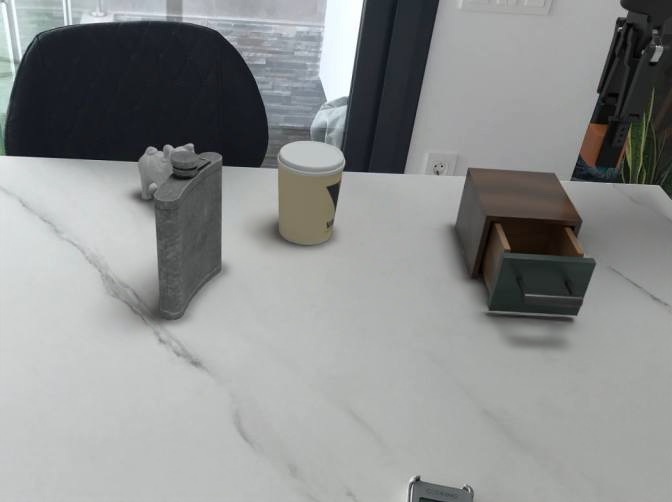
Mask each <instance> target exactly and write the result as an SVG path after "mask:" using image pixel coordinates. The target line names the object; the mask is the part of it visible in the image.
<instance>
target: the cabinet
mask: <svg viewBox="0 0 672 502" xmlns="http://www.w3.org/2000/svg"><path fill="white" fill-rule="evenodd" d="M466 171H467V172H466V175H465V180H464V184H463V189H462V194H461V198H460V202H459V207H458V211H457V216H456V220H455V225H454V230H455V233H456V235H457V238H458V242H459V245H460V248H461V252H462V254H463V258H464V261H465V265H466V267H467V270H468V273H469V276H470V279H472V280H485V278H484V275H483V272H482V269H481V266H480V263H481V259H482V255H483V251H484V247H485V243H486V239H487V235H488V231H489V227H490V223H491V221H501V222H517V223H534V224H550V225H567V226H570V228H571V230H572V232H573V234H574V235H575V237H576V239H577V240H578V237H579V234H580V231H581V228H582V225H583V222H584V221H583V218H582V217H581V215H580V214H579V212H578V210H577V208H576V207H575V205H574V204H573V202H572V200H571V198H570V196H569V195H568V193H567V191H566V189H565V188H564V186H563V184H562V183H561V181H560V179H559V177H558V176H557V174H556V173H555V172H548V171H547V172H546V171H530V170H513V169H500V168H499V169H497V168H483V167H467V170H466Z"/></svg>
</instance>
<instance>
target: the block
mask: <svg viewBox="0 0 672 502" xmlns="http://www.w3.org/2000/svg"><path fill="white" fill-rule="evenodd" d="M607 127H608V125H603V124H594V123H591V122H590V123H588V124H587V128H586V132H585V134H584V137H583V141H582V144H581V146H580V150H579V155H580V157H581V158H582V160H583V162H584V163H585V165H586V166H587V167H596V165H595V163H596V160H597V157H598V154H599V151H600V148H601V145H602V142H603V139H604V136H605V133H606V130H607ZM629 140H630V137H629V136H628V135H627V138H626V141H625V144H624V146H623V149H622V152H621V155H620V158H619V161H618V164H617V166H616V168H615V169H619V168H620V165H621V162H622V160H623V157H624V154H625V150H626V148H627V145H628V143H629ZM596 168H597V167H596Z"/></svg>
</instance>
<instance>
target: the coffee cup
mask: <svg viewBox="0 0 672 502" xmlns="http://www.w3.org/2000/svg"><path fill="white" fill-rule="evenodd" d="M276 161H277V180H278V181H277V191H278V192H277V193H278V195H277V197H278V199H277V200H278V230H279V231H278V232H279V234H280V235H281V237H282V238H283V239H285V240H286V241H287V242H290V243H292V244H297V245H300V246H301V245H303V246H315V245H320V244H323V243H325V242H327V241H328V240H329V239H330V238H331V237H332V233H333V228H334V223H335V218H336V213H337V207H338V201H339V195H340V191H341V185H342V178H343V173H344V168H345V165H346V158H345V157H344V153H343V152H342V150H341V149H339V147H336V146H334V145H332V144H329V143H326V142H322V141H315V140H299V141H293V142H289V143H287V144H284V145H283V146H282V147H281V148H280V150H279V152H278V154H277V156H276Z"/></svg>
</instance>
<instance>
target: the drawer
mask: <svg viewBox="0 0 672 502" xmlns="http://www.w3.org/2000/svg"><path fill="white" fill-rule="evenodd" d="M596 265H597V261H596V259H595V258H594V257H585V252H584V250H583V248H582V246H581V245H580V243H579V241H578V238H577V239H576V237H575V235H574V234H573V232H572V230H571V228H570V226H567V225H550V224H534V223H517V222H501V221H491V223H490V227H489V231H488V235H487V239H486V243H485V247H484V251H483V255H482V259H481V263H480V266H481V269H482V272H483V275H484V278H485V279H484V281H485V283H486V287H487V289H488V292H489V298H488V302H487V305H486V306H487V309H488V311H489V312H490V311H491V312H503V313H504V312H505V313H521V314H522V313H523V314H539V315H555V316H556V315H558V316H573V317H578V316H579V314H580V313H579V312H580V309H581V308H582V306H583V304H584V299H585V296H586V294H587V291H588V288H589V284H590V282H591V280H592V277H593V274H594V272H595V268H596Z"/></svg>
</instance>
